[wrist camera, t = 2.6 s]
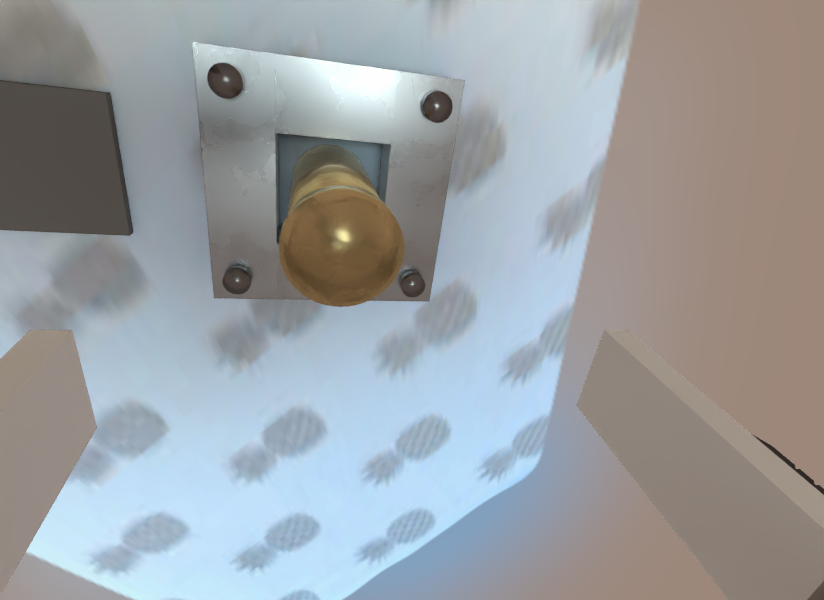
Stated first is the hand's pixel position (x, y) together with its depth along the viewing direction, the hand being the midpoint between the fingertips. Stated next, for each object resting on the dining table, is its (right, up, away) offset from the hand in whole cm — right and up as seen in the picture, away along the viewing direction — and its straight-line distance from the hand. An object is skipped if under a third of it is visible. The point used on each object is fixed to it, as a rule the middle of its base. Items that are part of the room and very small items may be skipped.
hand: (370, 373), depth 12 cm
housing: (-4, +9, +17) cm, 20 cm away
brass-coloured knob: (-4, +9, +17) cm, 20 cm away
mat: (-20, +10, +14) cm, 26 cm away
